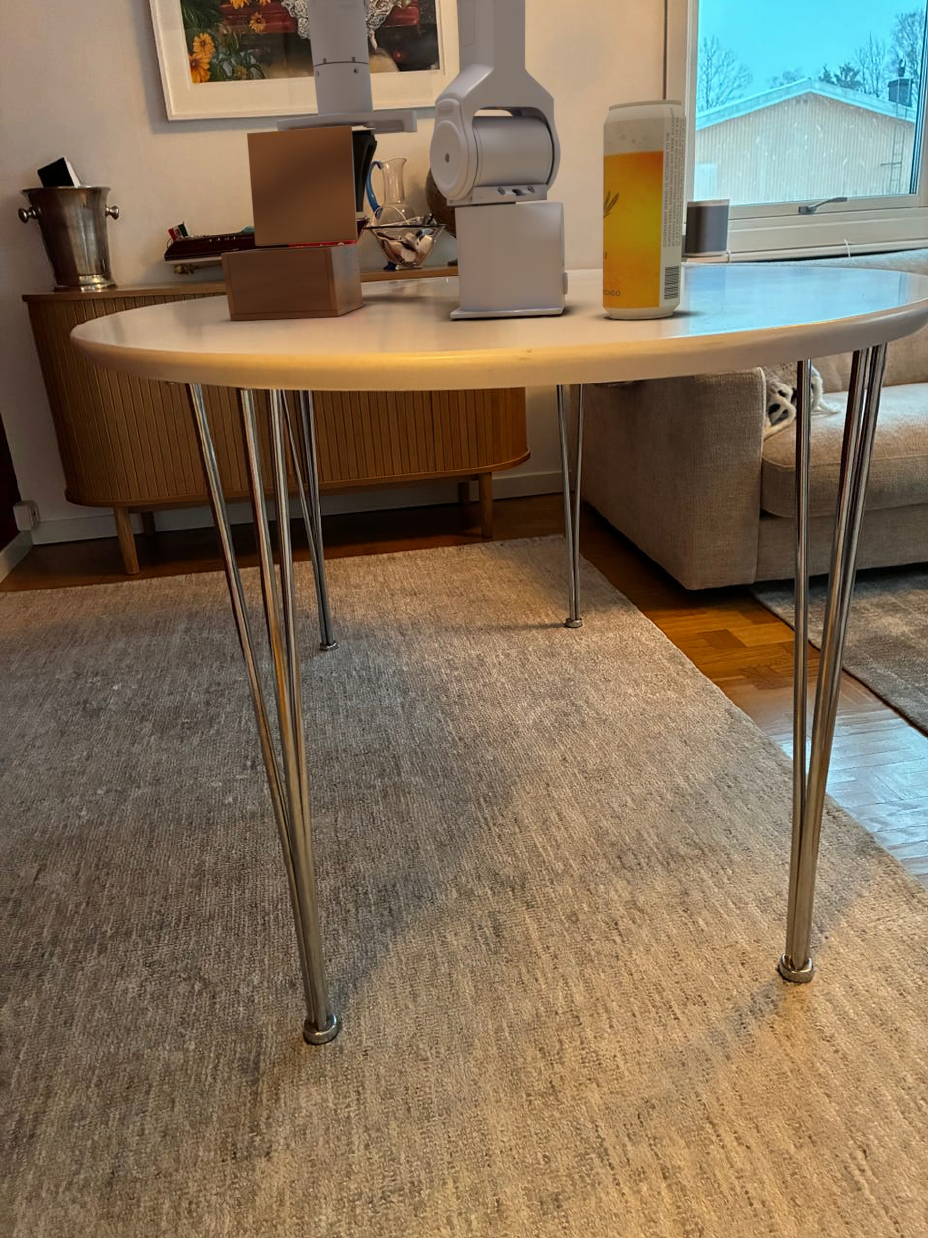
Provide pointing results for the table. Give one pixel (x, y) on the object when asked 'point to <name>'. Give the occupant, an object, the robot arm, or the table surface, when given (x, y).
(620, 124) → the beer can
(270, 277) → the chest
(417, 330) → the table surface
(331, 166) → the lid
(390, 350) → the table surface
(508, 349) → the table surface
